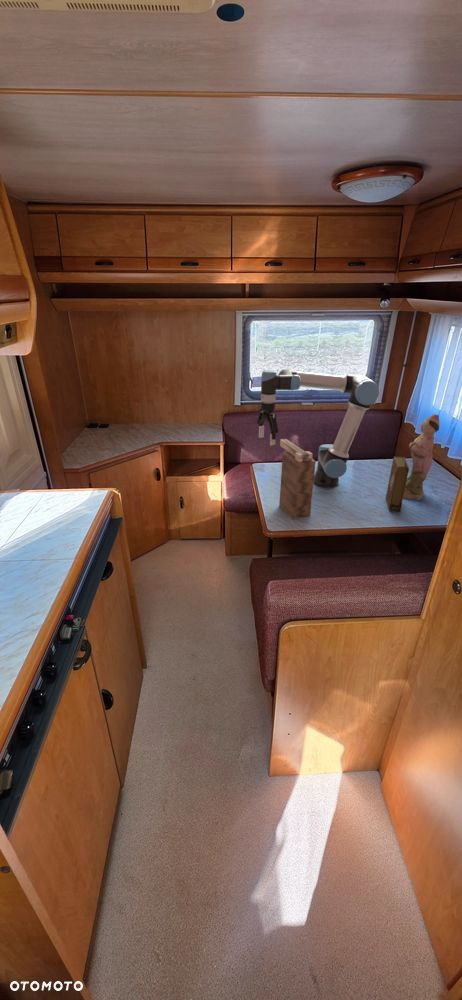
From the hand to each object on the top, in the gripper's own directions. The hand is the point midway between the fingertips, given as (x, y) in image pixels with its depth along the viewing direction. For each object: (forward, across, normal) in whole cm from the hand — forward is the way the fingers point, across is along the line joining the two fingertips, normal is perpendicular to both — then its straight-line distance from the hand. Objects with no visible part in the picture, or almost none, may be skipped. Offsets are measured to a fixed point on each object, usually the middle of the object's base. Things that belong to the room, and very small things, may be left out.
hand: (266, 441), depth 231 cm
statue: (+31, +32, +76) cm, 88 cm away
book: (+31, +40, +56) cm, 76 cm away
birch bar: (0, +22, +4) cm, 22 cm away
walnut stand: (+30, +27, +4) cm, 41 cm away
